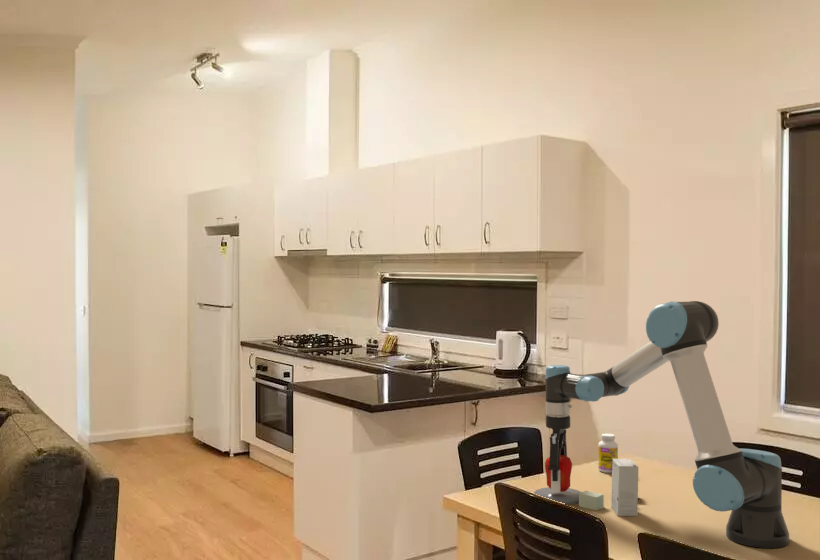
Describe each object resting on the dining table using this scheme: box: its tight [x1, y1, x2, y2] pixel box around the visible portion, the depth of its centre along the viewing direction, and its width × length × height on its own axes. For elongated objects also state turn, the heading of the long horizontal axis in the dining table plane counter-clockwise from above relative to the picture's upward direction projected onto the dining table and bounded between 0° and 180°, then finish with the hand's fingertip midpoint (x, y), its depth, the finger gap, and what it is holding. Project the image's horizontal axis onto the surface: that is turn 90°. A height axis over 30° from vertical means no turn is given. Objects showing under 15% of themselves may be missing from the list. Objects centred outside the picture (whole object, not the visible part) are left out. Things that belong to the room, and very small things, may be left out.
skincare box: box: [610, 458, 639, 517], centre depth 226 cm, size 8×6×15 cm
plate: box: [534, 486, 582, 505], centre depth 241 cm, size 15×15×1 cm
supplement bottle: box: [597, 433, 619, 474], centre depth 273 cm, size 7×7×13 cm
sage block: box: [578, 490, 605, 511], centre depth 232 cm, size 4×6×4 cm, turn 47°
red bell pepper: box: [544, 455, 573, 492], centre depth 241 cm, size 9×8×12 cm
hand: (558, 487), depth 241 cm, fingers closed on red bell pepper, 9 cm apart
